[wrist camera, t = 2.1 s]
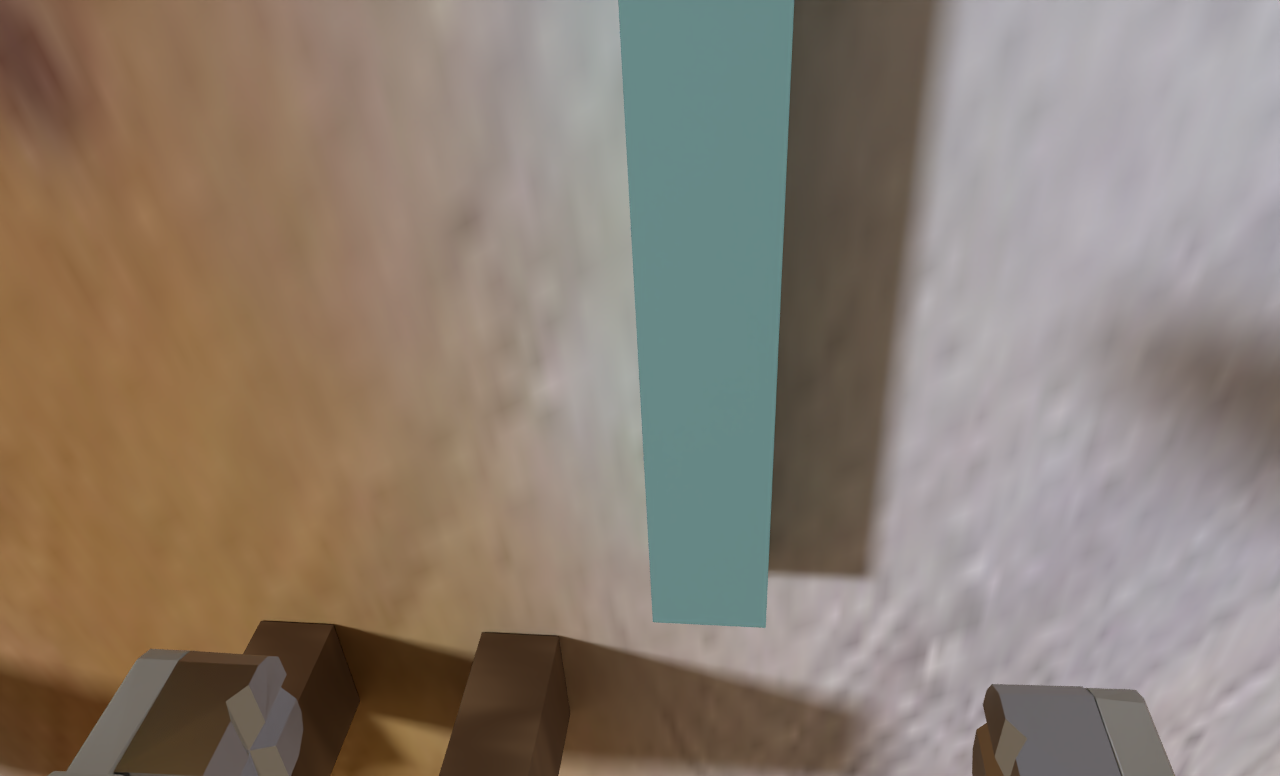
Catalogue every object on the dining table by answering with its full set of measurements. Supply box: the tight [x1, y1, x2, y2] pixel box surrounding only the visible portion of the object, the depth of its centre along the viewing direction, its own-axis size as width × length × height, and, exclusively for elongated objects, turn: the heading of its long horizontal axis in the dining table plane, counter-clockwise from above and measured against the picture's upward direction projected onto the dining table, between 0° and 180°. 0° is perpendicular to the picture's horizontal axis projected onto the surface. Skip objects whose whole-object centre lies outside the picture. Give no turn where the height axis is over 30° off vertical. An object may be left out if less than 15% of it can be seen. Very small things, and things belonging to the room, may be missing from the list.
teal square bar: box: [618, 0, 794, 628], centre depth 21 cm, size 3×22×3 cm, turn 3°
